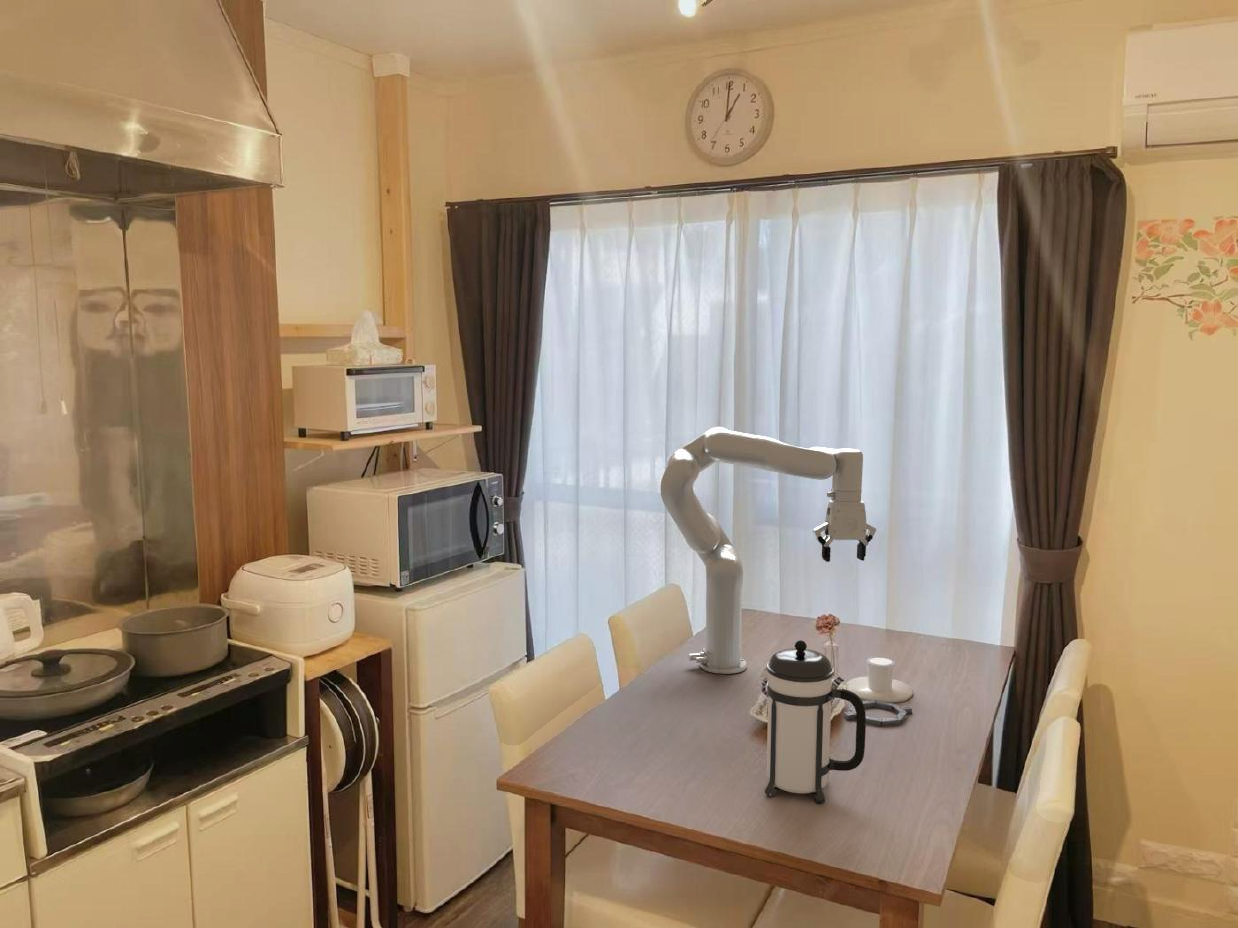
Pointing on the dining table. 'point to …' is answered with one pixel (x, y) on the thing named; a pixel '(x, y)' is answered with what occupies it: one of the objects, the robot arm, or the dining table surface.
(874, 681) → the white cup
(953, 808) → the dining table surface
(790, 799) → the dining table surface
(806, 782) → the coffee press
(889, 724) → the collar
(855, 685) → the saucer
